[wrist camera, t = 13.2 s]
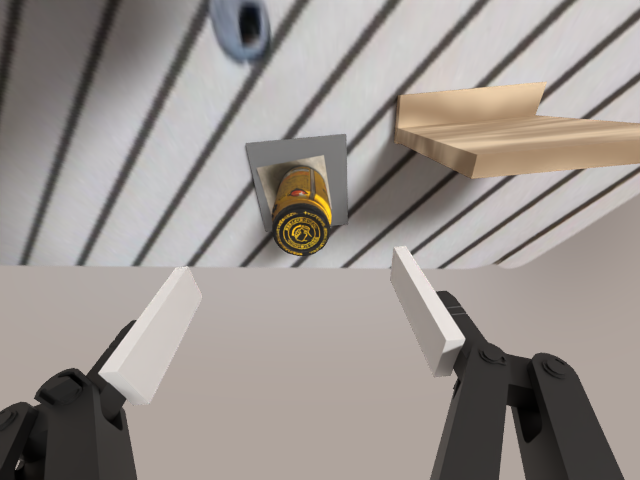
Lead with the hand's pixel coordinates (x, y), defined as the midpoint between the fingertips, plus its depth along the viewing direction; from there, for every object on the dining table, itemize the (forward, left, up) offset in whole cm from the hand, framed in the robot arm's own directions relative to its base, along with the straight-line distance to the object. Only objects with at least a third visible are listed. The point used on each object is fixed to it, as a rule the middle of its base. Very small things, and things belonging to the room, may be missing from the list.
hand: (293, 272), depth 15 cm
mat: (0, 0, -19) cm, 19 cm away
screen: (-7, +20, -19) cm, 28 cm away
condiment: (0, -1, -18) cm, 18 cm away
